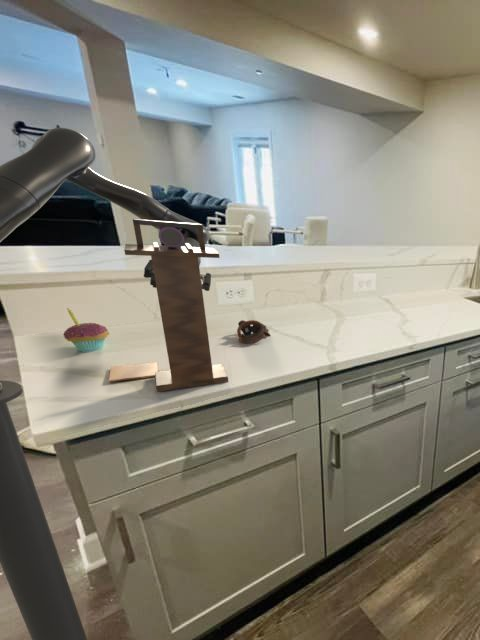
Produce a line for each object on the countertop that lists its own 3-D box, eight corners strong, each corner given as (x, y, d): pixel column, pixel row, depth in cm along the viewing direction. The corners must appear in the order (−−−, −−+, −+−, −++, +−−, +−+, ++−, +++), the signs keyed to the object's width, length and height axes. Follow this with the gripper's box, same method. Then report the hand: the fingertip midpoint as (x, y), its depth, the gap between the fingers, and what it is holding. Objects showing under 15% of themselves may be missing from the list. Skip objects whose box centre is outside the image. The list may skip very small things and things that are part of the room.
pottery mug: (280, 341, 128) (272, 325, 121) (256, 360, 123) (247, 344, 116) (254, 324, 130) (245, 308, 124) (230, 342, 125) (219, 326, 118)
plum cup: (158, 243, 93) (155, 223, 91) (181, 244, 95) (178, 225, 94) (160, 246, 84) (156, 225, 83) (185, 248, 87) (182, 227, 85)
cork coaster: (109, 382, 90) (108, 380, 90) (111, 368, 96) (110, 366, 96) (158, 376, 96) (158, 374, 95) (157, 363, 102) (157, 362, 102)
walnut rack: (151, 392, 88) (118, 220, 75) (150, 377, 94) (120, 216, 81) (232, 381, 98) (216, 227, 85) (227, 368, 104) (211, 223, 91)
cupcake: (73, 357, 99) (58, 313, 95) (65, 347, 104) (51, 304, 99) (116, 349, 106) (104, 308, 101) (108, 340, 110) (96, 300, 106)
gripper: (211, 278, 117) (206, 307, 106) (150, 264, 109) (138, 294, 98) (215, 257, 114) (210, 284, 103) (153, 241, 105) (141, 268, 94)
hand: (175, 289), depth 100 cm, fingers open, 8 cm apart
